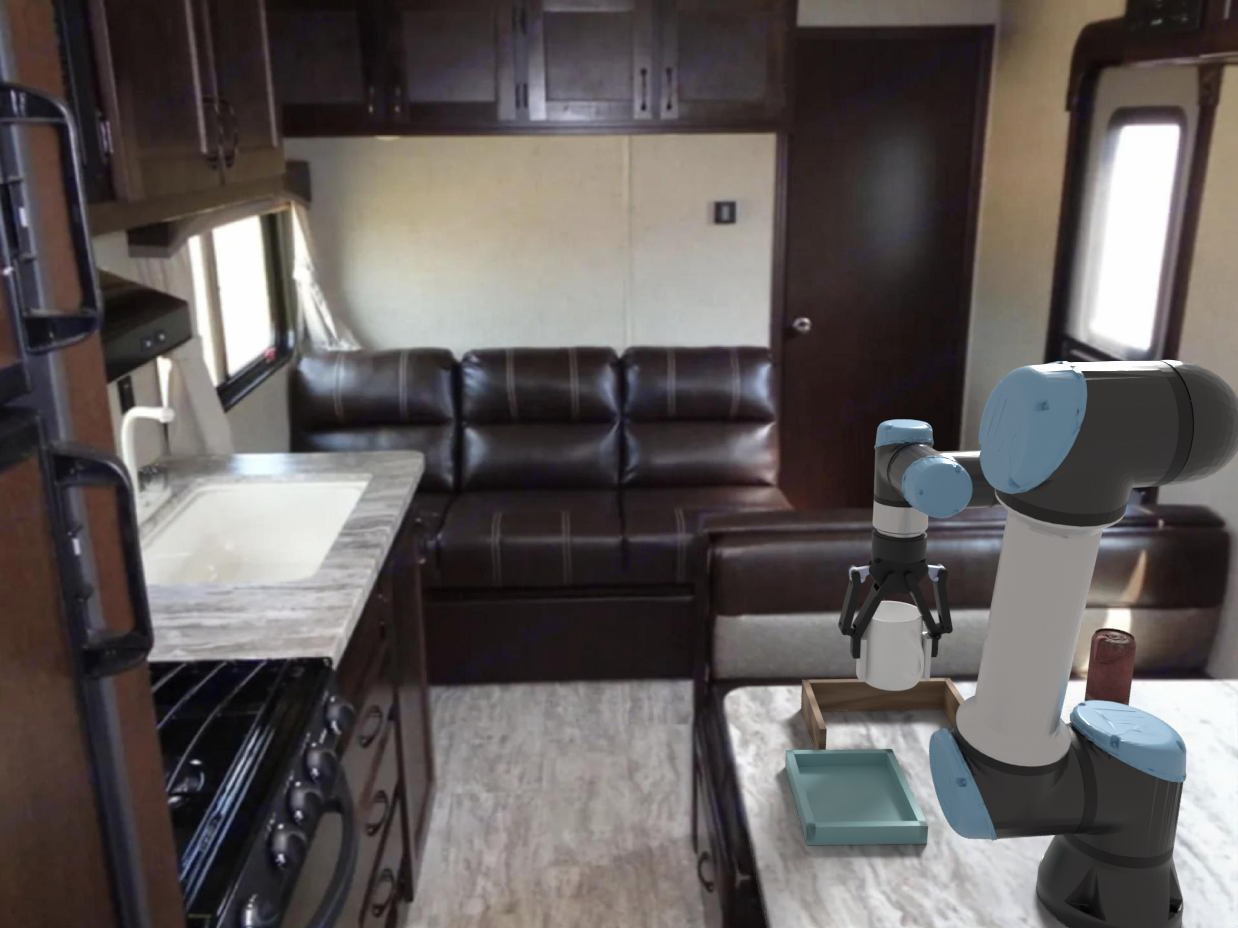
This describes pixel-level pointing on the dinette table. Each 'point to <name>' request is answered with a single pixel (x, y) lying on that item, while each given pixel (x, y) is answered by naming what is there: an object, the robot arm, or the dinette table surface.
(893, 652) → the mug
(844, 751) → the tray
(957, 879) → the dinette table surface
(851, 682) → the bay
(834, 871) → the dinette table surface
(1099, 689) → the can
